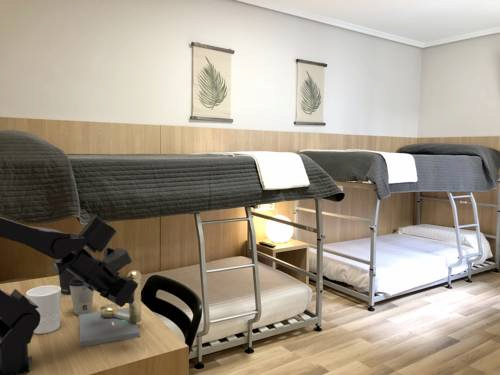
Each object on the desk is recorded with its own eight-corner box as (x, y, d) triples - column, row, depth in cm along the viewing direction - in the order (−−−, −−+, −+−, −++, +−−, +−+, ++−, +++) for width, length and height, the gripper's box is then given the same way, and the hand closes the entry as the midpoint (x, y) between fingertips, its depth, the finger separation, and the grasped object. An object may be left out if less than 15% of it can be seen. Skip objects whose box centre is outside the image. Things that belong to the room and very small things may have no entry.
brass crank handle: (97, 315, 112) (95, 267, 110) (109, 310, 116) (108, 262, 114) (134, 325, 106) (133, 273, 105) (146, 319, 110) (145, 269, 109)
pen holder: (58, 288, 138) (56, 258, 137) (88, 283, 142) (87, 254, 141) (60, 297, 130) (59, 265, 129) (92, 292, 134) (91, 261, 133)
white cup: (30, 324, 110) (28, 287, 109) (63, 320, 113) (61, 283, 112) (26, 337, 103) (24, 297, 102) (61, 332, 105) (59, 293, 104)
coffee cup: (90, 316, 115) (89, 281, 114) (65, 316, 115) (63, 281, 114) (99, 307, 122) (98, 273, 121) (75, 307, 122) (74, 273, 121)
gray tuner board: (139, 336, 103) (139, 331, 103) (80, 346, 98) (79, 341, 98) (131, 311, 119) (131, 307, 118) (79, 319, 113) (79, 314, 113)
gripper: (128, 245, 94) (171, 282, 103) (93, 234, 108) (134, 268, 116) (95, 288, 90) (144, 323, 98) (63, 271, 103) (108, 303, 112)
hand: (132, 301), depth 106 cm, fingers closed
